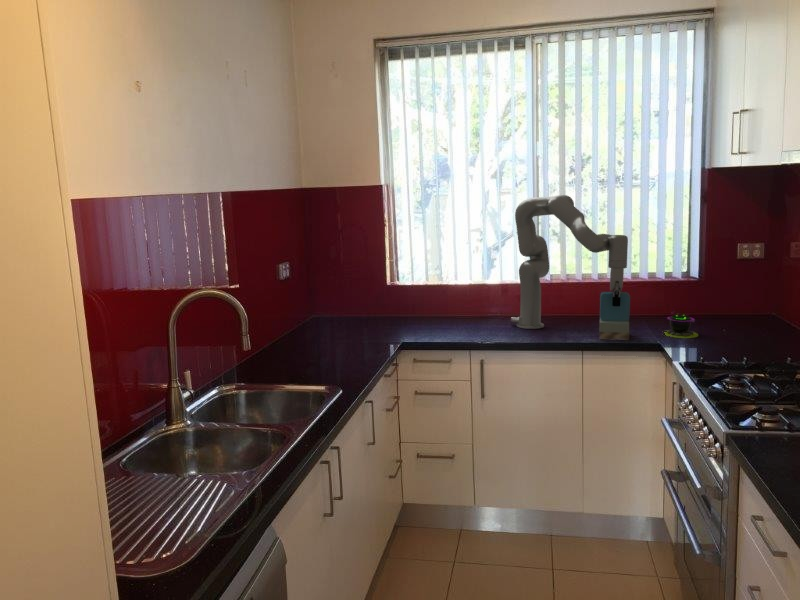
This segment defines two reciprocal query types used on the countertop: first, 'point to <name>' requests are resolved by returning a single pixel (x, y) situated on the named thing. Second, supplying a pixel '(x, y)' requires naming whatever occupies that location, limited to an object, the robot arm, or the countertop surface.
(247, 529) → the countertop surface
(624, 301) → the data package
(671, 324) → the toy cauldron
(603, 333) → the tower bottom
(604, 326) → the pale grey flat block
